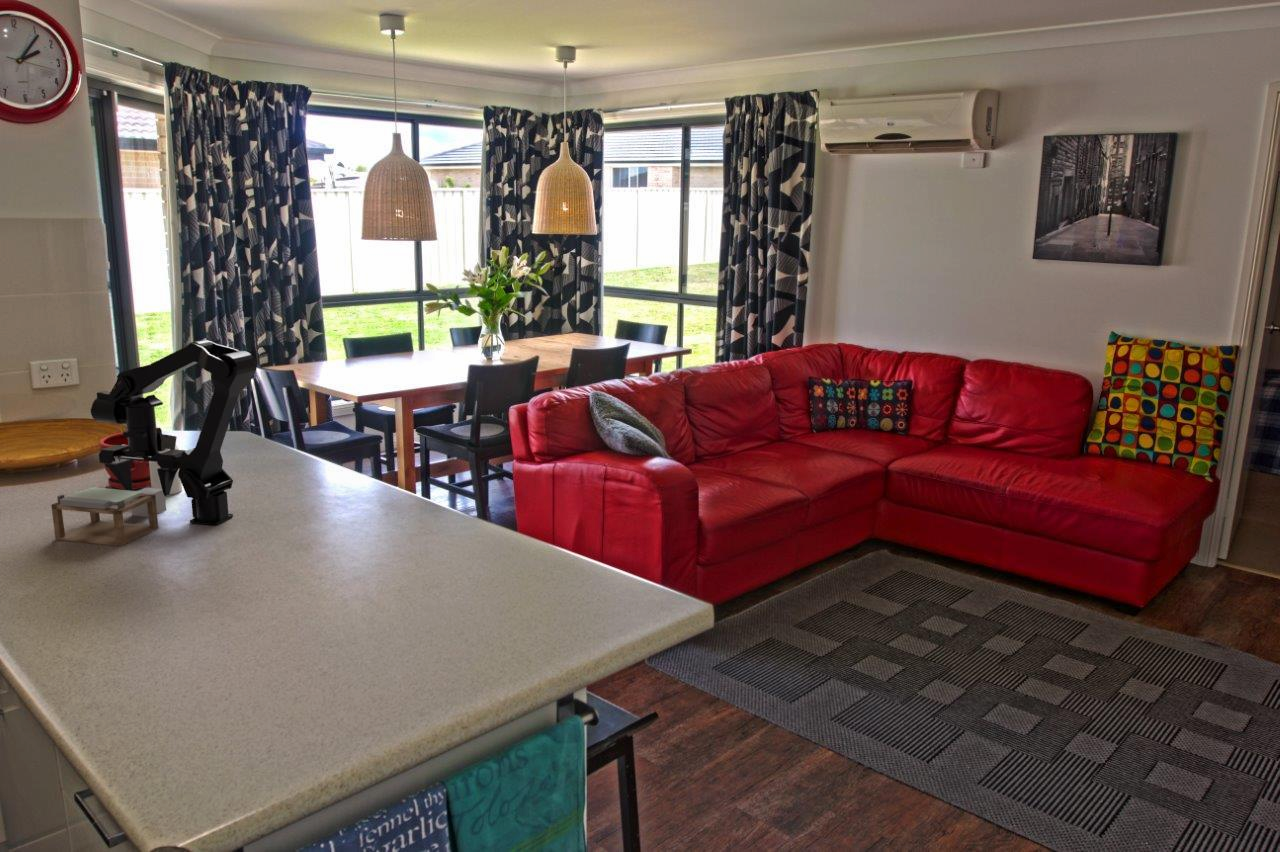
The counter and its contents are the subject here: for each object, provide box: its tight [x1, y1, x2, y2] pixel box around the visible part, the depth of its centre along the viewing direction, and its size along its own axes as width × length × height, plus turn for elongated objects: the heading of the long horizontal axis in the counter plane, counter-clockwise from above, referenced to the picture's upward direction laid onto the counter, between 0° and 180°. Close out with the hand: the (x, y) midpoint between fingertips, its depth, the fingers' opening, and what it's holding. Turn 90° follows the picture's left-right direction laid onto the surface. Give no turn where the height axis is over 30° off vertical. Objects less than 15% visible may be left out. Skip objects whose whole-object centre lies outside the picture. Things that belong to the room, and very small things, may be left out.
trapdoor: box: [60, 486, 143, 509], centre depth 193 cm, size 12×10×1 cm
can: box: [148, 444, 183, 496], centre depth 222 cm, size 6×6×12 cm
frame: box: [51, 494, 159, 547], centre depth 195 cm, size 15×11×9 cm
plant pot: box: [98, 432, 151, 490], centre depth 227 cm, size 13×13×12 cm
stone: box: [130, 487, 167, 518], centre depth 209 cm, size 5×5×5 cm
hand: (148, 494), depth 208 cm, fingers open, 9 cm apart
